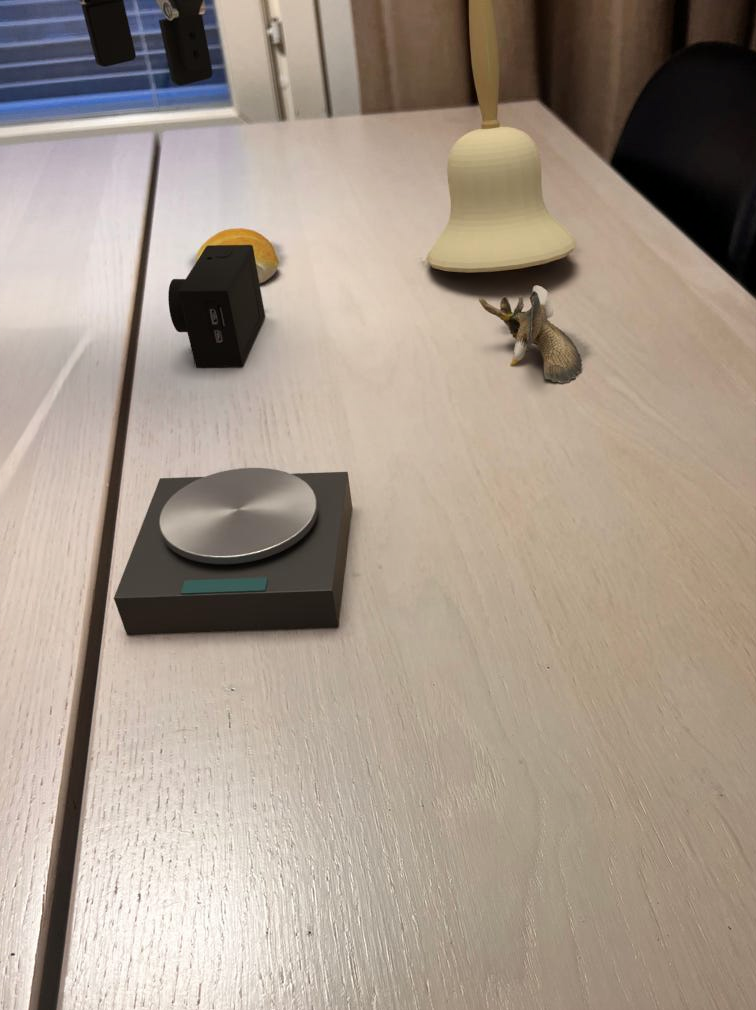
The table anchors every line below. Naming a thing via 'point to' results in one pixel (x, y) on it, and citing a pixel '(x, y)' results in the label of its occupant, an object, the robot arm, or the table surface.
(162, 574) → the scale
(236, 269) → the digital camera
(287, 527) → the scale pan
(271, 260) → the bread roll
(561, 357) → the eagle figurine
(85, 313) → the table surface
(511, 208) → the handbell
